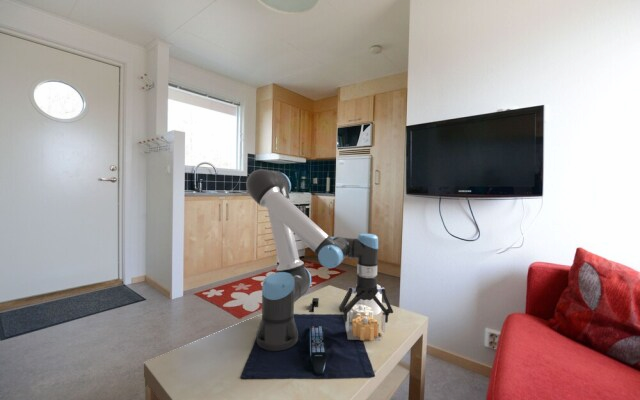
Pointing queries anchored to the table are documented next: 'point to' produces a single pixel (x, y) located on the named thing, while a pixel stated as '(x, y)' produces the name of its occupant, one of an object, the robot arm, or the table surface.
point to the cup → (372, 302)
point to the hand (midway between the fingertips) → (365, 330)
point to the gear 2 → (365, 328)
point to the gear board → (350, 333)
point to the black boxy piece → (314, 304)
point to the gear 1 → (360, 312)
